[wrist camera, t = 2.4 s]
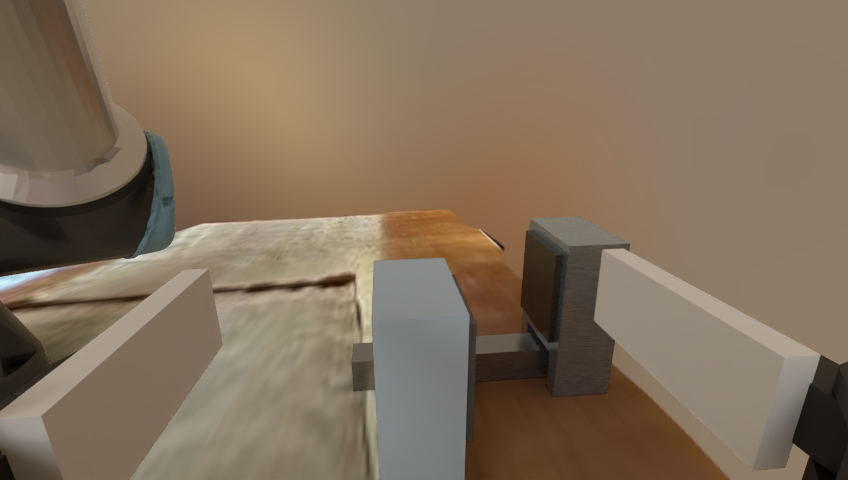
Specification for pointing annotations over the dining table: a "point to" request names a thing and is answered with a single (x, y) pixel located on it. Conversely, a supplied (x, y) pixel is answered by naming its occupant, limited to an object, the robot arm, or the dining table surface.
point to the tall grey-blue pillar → (422, 370)
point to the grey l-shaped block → (545, 315)
